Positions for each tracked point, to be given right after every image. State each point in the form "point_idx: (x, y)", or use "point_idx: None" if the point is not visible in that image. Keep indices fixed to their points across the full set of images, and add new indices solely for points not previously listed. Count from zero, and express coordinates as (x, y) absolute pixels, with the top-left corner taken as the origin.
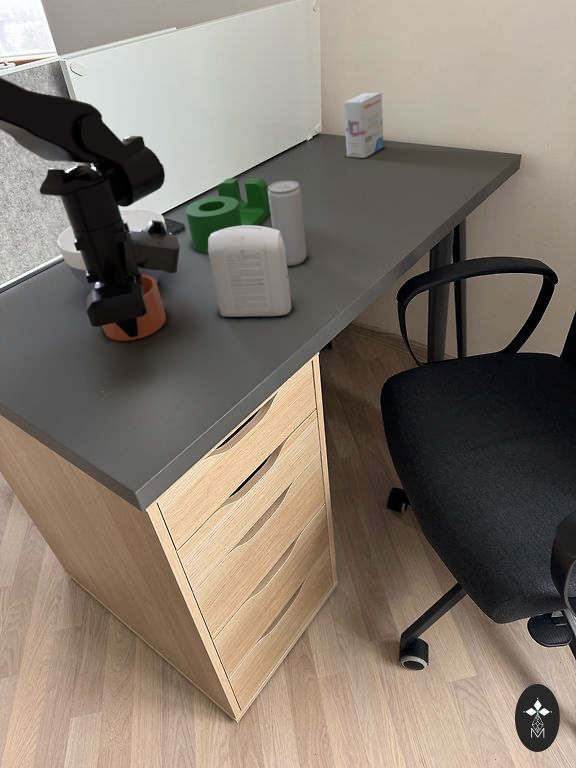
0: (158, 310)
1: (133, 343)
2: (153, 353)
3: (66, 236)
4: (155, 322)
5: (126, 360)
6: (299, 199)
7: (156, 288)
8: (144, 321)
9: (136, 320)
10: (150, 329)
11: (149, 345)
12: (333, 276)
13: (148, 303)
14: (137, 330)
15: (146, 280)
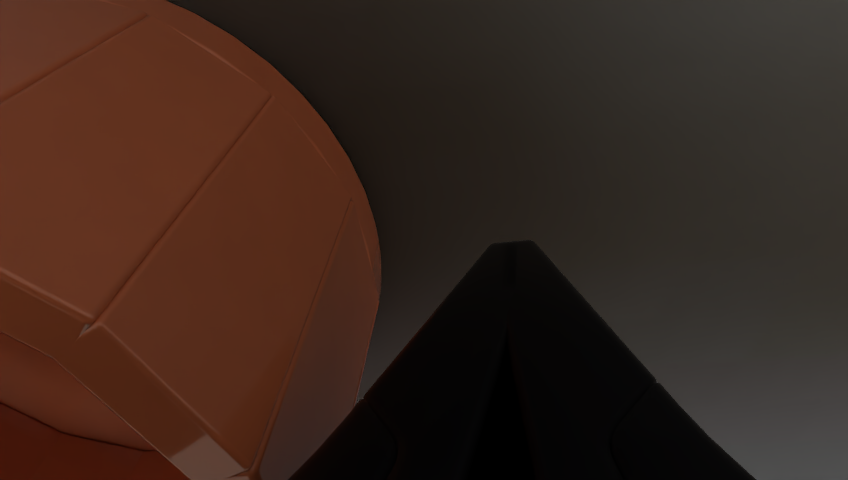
0: (76, 51)
1: (434, 242)
2: (676, 55)
3: None
4: (220, 74)
5: (684, 275)
6: None
7: None
8: (293, 200)
9: (625, 346)
10: (295, 118)
11: (511, 105)
12: None
13: (113, 212)
14: (554, 268)
15: None
